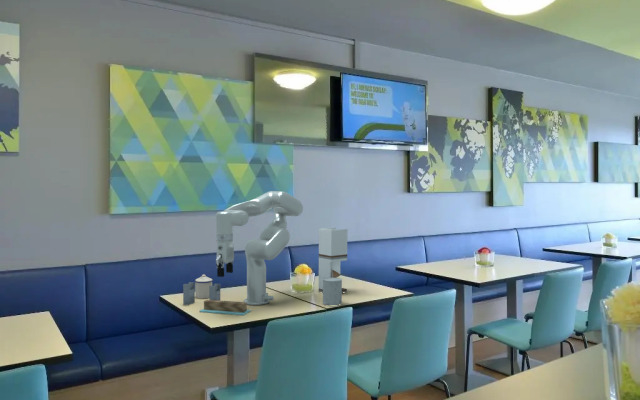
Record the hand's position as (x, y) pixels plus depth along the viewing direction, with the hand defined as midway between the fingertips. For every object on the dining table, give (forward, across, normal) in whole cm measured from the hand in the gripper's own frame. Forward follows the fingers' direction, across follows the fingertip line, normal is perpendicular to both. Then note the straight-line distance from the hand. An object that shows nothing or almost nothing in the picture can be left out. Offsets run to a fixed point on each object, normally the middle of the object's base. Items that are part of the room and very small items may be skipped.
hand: (225, 274), depth 235 cm
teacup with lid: (+18, +25, +24) cm, 38 cm away
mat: (+17, -2, -1) cm, 17 cm away
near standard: (+17, +8, +9) cm, 21 cm away
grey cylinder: (+18, +26, -45) cm, 55 cm away
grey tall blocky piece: (+19, +52, -40) cm, 68 cm away
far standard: (+17, +8, +23) cm, 30 cm away
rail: (+16, -2, 0) cm, 16 cm away
